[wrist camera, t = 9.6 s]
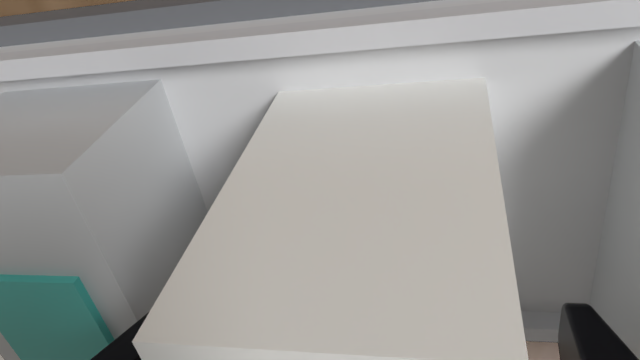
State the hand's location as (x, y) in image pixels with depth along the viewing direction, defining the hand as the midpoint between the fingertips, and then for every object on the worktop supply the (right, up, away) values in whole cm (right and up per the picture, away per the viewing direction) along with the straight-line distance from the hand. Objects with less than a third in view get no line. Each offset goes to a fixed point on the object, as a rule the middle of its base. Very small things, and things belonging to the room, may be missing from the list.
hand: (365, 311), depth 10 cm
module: (-6, +2, +5) cm, 8 cm away
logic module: (+1, +2, +3) cm, 4 cm away
